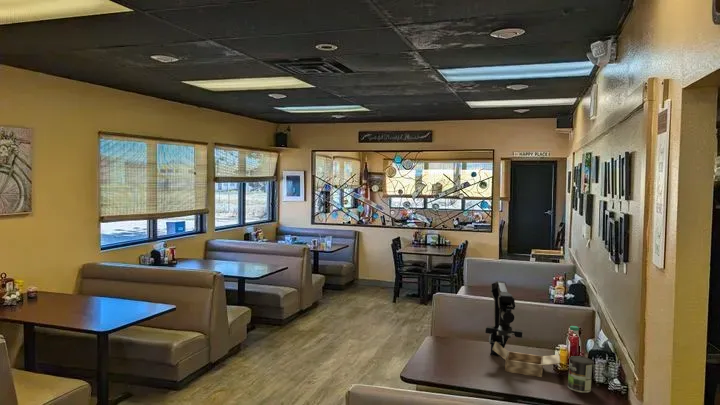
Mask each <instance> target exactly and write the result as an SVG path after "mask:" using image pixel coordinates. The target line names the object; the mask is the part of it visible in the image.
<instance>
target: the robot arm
mask: <svg viewBox="0 0 720 405" xmlns="http://www.w3.org/2000/svg"><path fill="white" fill-rule="evenodd" d="M490 293H491V297H492V299H493V305H494V306H493V307H494V308H493V326H491V325H487V326H486V327H485V334H489V337H488V342H489V344H490V353H489V355H490V356H493V357H501V356H500V355H499V354H497V353H496V352H495V351H494V350H492V349H493V346H494V344H495V342H497V343H499V344H500V345H501V346H502V348H505V347H506V344H507V342H508V339H511V338H512V335H514V337H515V338H519V339H522V338H523V337H524V331H523V330H522V329H516V328H515V330H513V326H511V323H513V322H514V320H515V315H514V314H513V312H512V310H515V308H516V300H515V298H514V297H513V295H512V294H511V292H509V291H508V288H507V283H506V281H504V280H496V281H495V282H493V283H491V285H490Z"/></svg>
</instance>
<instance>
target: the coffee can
mask: <svg viewBox="0 0 720 405" xmlns="http://www.w3.org/2000/svg"><path fill="white" fill-rule="evenodd" d="M593 362H594V361H593V359H591V358H588V357H585V356H571V357H569V364H568V365H569V366H568V376H567V378H568V379H567V388H568V389H569V390H570V391H573V392H577V393H582V394H583V393H585V394H586V393H590V392H591V391H592V388H591V387H592V373H593V372H592V371H593V364H594V363H593Z"/></svg>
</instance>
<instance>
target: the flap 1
mask: <svg viewBox="0 0 720 405" xmlns="http://www.w3.org/2000/svg"><path fill="white" fill-rule="evenodd" d="M492 350H494V351H495V352H496V353H497V354H499V355H500V356H499V357H501V358H502V359H504V360H506V357H507V353H508V351H509V350H507V349H506V348H505V347H504V348H502V346H501V345H500V344H499V343H497V342H495V344H494V346H493V349H492Z"/></svg>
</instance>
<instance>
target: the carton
mask: <svg viewBox="0 0 720 405" xmlns="http://www.w3.org/2000/svg"><path fill="white" fill-rule="evenodd" d="M507 351H508V353H507V356H506V359H504V360H505V363H504V372H507V373H513V374H518V375H519V374H521V375H525V376H532V377H539V378H543V371H544V370H543V369H544V368H543V366H544V365H543V356H544V355H537V354H529V353H523V352H516V351H509V350H507Z"/></svg>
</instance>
